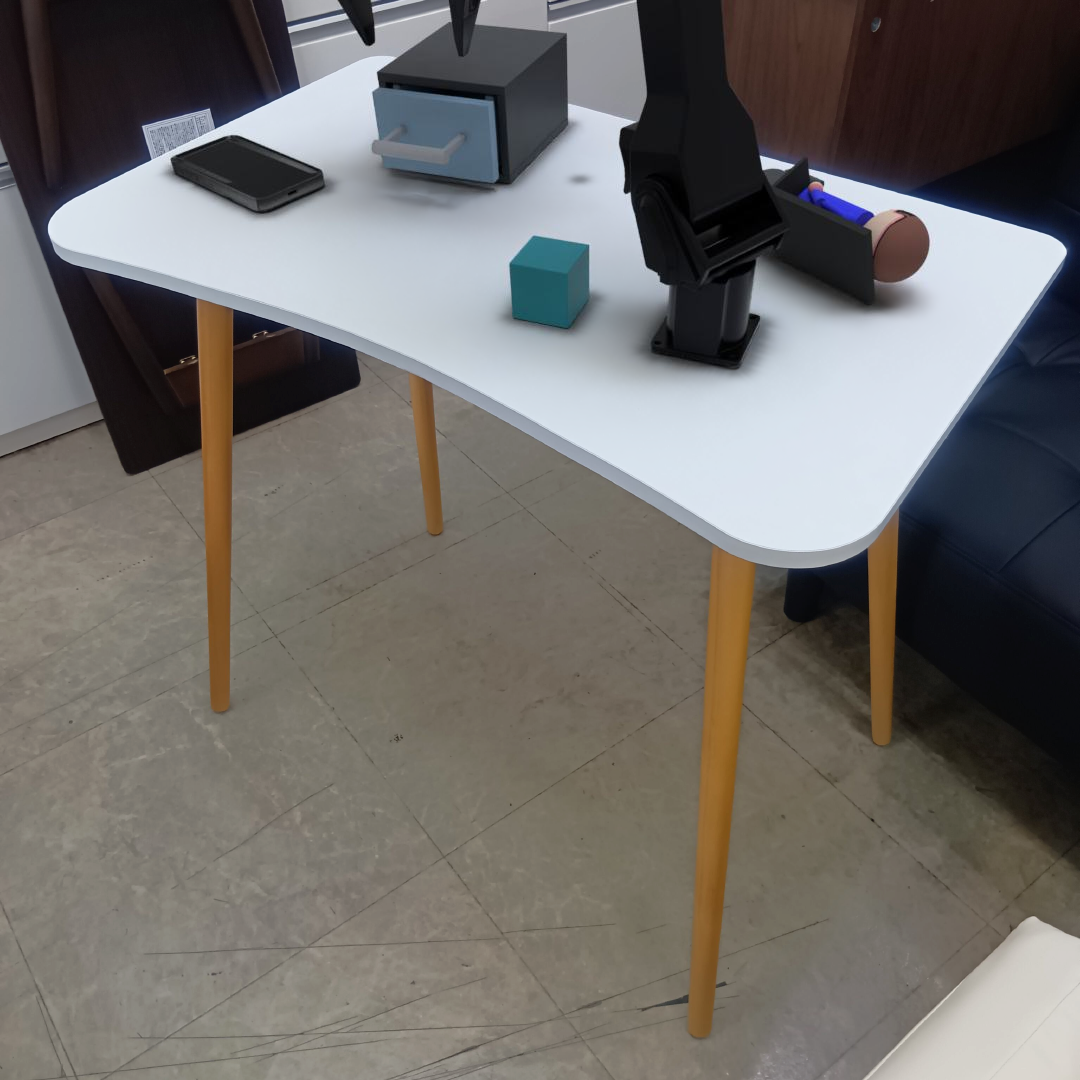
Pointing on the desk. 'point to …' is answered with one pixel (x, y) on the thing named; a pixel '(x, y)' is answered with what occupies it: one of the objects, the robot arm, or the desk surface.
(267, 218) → the desk surface
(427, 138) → the light blue drawer
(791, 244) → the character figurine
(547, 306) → the teal cube
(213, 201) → the desk surface
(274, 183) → the phone
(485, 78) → the drawer cabinet
